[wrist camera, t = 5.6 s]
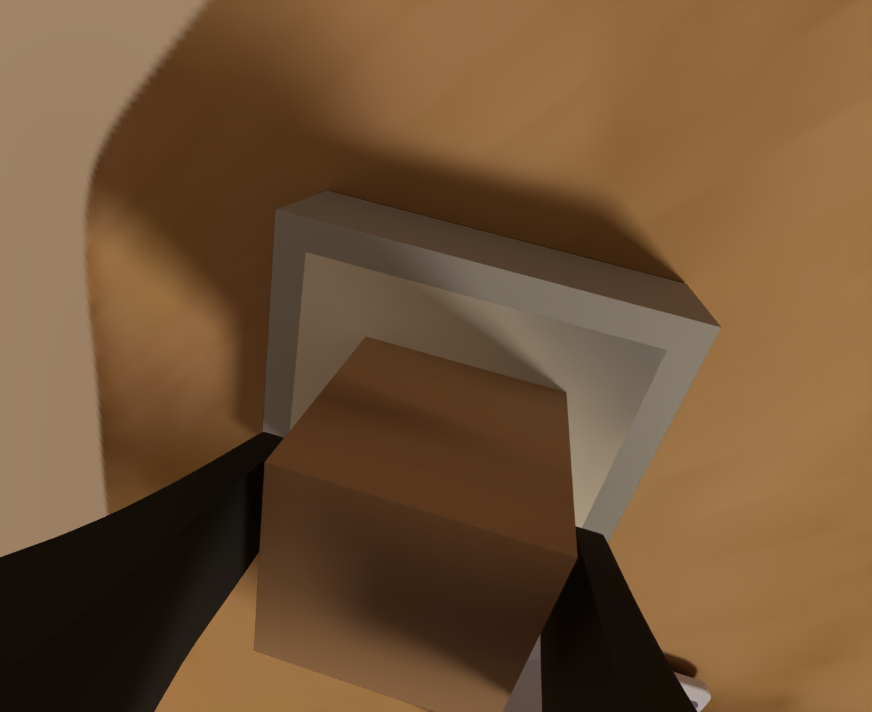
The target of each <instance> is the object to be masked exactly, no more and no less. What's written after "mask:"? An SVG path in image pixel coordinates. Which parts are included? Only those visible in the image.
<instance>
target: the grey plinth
mask: <svg viewBox="0 0 872 712" xmlns="http://www.w3.org/2000/svg"><path fill="white" fill-rule="evenodd" d="M720 329H721V326H720V325H719V324H718V323H717V321H716V320H715V319H714V318H713V316H712V315H711V314H710V313H709V311H708V310H707V309H706V308H705V306H704V305H703V304H702V303H701V301H700V300H699V299H698V298H697V296H696V295H695V294H694V293H693V291H692V290H691V289H690V288H689V286H688V285H687V284H685V283H681V282H677V281H673V280H670V279H666V278H662V277H658V276H654V275H650V274H647V273H643V272H639V271H635V270H631V269H627V268H623V267H620V266H616V265H612V264H608V263H604V262H600V261H596V260H593V259H589V258H585V257H581V256H577V255H573V254H570V253H566V252H562V251H558V250H554V249H550V248H546V247H543V246H539V245H535V244H531V243H527V242H523V241H520V240H516V239H512V238H508V237H504V236H500V235H496V234H493V233H489V232H485V231H481V230H477V229H473V228H469V227H466V226H462V225H458V224H454V223H450V222H446V221H443V220H439V219H435V218H431V217H427V216H423V215H419V214H416V213H412V212H408V211H404V210H400V209H396V208H393V207H389V206H385V205H381V204H377V203H373V202H369V201H366V200H362V199H358V198H354V197H350V196H346V195H342V194H339V193H335V192H331V191H327V190H326V191H324V192H321V193H318V194H315V195H313V196H310V197H307V198H304V199H302V200H299V201H296V202H293V203H291V204H288V205H285V206H282V207H280V208H277V209H275V225H274V242H273V260H272V277H271V295H270V312H269V329H268V347H267V364H266V382H265V399H264V417H263V432H267V433H270V434H274V435H277V436H280V437H285V436H286V435H287V434H288V433H289V431H290V430H291V429H292V428H293V426H294V425H295V424H296V423H297V421H298V420H299V419H300V418H301V416H302V415H303V414H304V413H305V411H306V410H307V409H308V408H309V406H310V405H311V404H312V403H313V401H314V400H315V399H316V398H317V396H318V395H319V394H320V393H321V391H322V390H323V389H324V388H325V386H326V385H327V384H328V383H329V381H330V380H331V379H332V378H333V377H334V375H335V374H336V373H337V372H338V370H339V369H340V368H341V367H342V365H343V364H344V363H345V362H346V360H347V359H348V358H349V357H350V355H351V354H352V353H353V352H354V350H355V349H356V348H357V347H358V345H359V344H360V343H361V342H362V340H363V339H364V338H365V337H370V338H373V339H377V340H380V341H384V342H387V343H391V344H395V345H398V346H402V347H405V348H409V349H412V350H416V351H420V352H423V353H427V354H430V355H434V356H438V357H441V358H445V359H448V360H452V361H455V362H459V363H463V364H466V365H470V366H473V367H477V368H481V369H484V370H488V371H491V372H495V373H498V374H502V375H506V376H509V377H513V378H516V379H520V380H524V381H527V382H531V383H534V384H538V385H541V386H545V387H549V388H552V389H556V390H559V391H563V392H567V407H568V422H569V437H570V452H571V467H572V482H573V497H574V512H575V526H577V527H580V528H583V529H587V530H590V531H593V532H597V533H600V534H603V535H604V537H605V539H606V541H607V543H608V542H609V540H610V538H611V536H612V534H613V532H614V530H615V528H616V527H617V525H618V523H619V521H620V519H621V517H622V515H623V513H624V511H625V509H626V508H627V506H628V504H629V502H630V500H631V498H632V496H633V494H634V492H635V490H636V488H637V487H638V485H639V483H640V481H641V479H642V477H643V475H644V473H645V471H646V469H647V468H648V466H649V464H650V462H651V460H652V458H653V456H654V454H655V452H656V450H657V449H658V447H659V445H660V443H661V441H662V439H663V437H664V435H665V433H666V431H667V430H668V428H669V426H670V424H671V422H672V420H673V418H674V416H675V414H676V412H677V410H678V409H679V407H680V405H681V403H682V401H683V399H684V397H685V395H686V393H687V391H688V390H689V388H690V386H691V384H692V382H693V380H694V378H695V376H696V374H697V372H698V371H699V369H700V367H701V365H702V363H703V361H704V359H705V357H706V355H707V353H708V352H709V350H710V348H711V346H712V344H713V342H714V340H715V338H716V336H717V334H718V332H719V331H720Z"/></svg>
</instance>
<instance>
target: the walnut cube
mask: <svg viewBox="0 0 872 712" xmlns="http://www.w3.org/2000/svg"><path fill="white" fill-rule="evenodd" d="M577 558H578V557H577V542H576V527H575V512H574V497H573V482H572V467H571V452H570V437H569V422H568V407H567V392H563V391H559V390H556V389H552V388H549V387H545V386H541V385H538V384H534V383H531V382H527V381H524V380H520V379H516V378H513V377H509V376H506V375H502V374H498V373H495V372H491V371H488V370H484V369H481V368H477V367H473V366H470V365H466V364H463V363H459V362H455V361H452V360H448V359H445V358H441V357H438V356H434V355H430V354H427V353H423V352H420V351H416V350H412V349H409V348H405V347H402V346H398V345H395V344H391V343H387V342H384V341H380V340H377V339H373V338H370V337H365V338H364V339H363V340H362V342H361V343H360V344H359V345H358V347H357V348H356V349H355V350H354V352H353V353H352V354H351V355H350V357H349V358H348V359H347V360H346V362H345V363H344V364H343V365H342V367H341V368H340V369H339V370H338V372H337V373H336V374H335V375H334V377H333V378H332V379H331V380H330V381H329V383H328V384H327V385H326V386H325V388H324V389H323V390H322V391H321V393H320V394H319V395H318V396H317V398H316V399H315V400H314V401H313V403H312V404H311V405H310V406H309V408H308V409H307V410H306V411H305V413H304V414H303V415H302V416H301V418H300V419H299V420H298V421H297V423H296V424H295V425H294V426H293V428H292V429H291V430H290V431H289V433H288V434H287V435H286V436H285V437H284V439H283V440H282V441H281V442H280V444H279V445H278V446H277V447H276V449H275V450H274V451H273V452H272V454H271V455H270V456H269V457H268V459H267V460H266V461H265V464H264V482H263V499H262V517H261V534H260V551H259V569H258V586H257V604H256V621H255V639H254V651H256V652H259V653H262V654H265V655H268V656H271V657H274V658H277V659H280V660H283V661H286V662H289V663H292V664H295V665H297V666H300V667H303V668H306V669H309V670H312V671H315V672H318V673H321V674H324V675H327V676H330V677H333V678H336V679H339V680H342V681H345V682H348V683H351V684H353V685H356V686H359V687H362V688H365V689H368V690H371V691H374V692H377V693H380V694H383V695H386V696H389V697H392V698H395V699H398V700H401V701H404V702H407V703H409V704H412V705H415V706H418V707H421V708H424V709H427V710H430V711H433V712H502V711H503V709H504V707H505V705H506V703H507V701H508V699H509V697H510V695H511V693H512V691H513V689H514V687H515V685H516V683H517V681H518V679H519V677H520V675H521V673H522V670H523V668H524V666H525V664H526V662H527V660H528V658H529V656H530V654H531V652H532V650H533V648H534V646H535V644H536V642H537V640H538V638H539V636H540V634H541V632H542V630H543V628H544V626H545V623H546V621H547V619H548V617H549V615H550V613H551V611H552V609H553V607H554V605H555V603H556V601H557V599H558V597H559V595H560V593H561V591H562V589H563V587H564V585H565V583H566V581H567V578H568V576H569V574H570V572H571V570H572V568H573V566H574V564H575V562H576V560H577Z"/></svg>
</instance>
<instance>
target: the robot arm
mask: <svg viewBox="0 0 872 712" xmlns="http://www.w3.org/2000/svg"><path fill="white" fill-rule="evenodd" d="M283 439H284V437H280V436H277V435H274V434H270V433H267V432H262V433H260V434H258V435H257V436H255V437H253V438H251V439H250V440H248V441H246V442H244V443H243V444H241V445H239V446H238V447H236V448H234V449H232V450H231V451H229V452H227V453H226V454H224V455H222V456H220V457H219V458H217V459H215V460H214V461H212V462H210V463H208V464H207V465H205V466H203V467H201V468H200V469H198V470H196V471H194V472H192V473H190V474H189V475H187V476H185V477H183V478H181V479H180V480H178V481H176V482H174V483H172V484H171V485H169V486H167V487H165V488H163V489H161V490H159V491H157V492H155V493H153V494H151V495H149V496H147V497H145V498H143V499H141V500H139V501H137V502H135V503H133V504H131V505H129V506H127V507H125V508H123V509H121V510H119V511H116V512H114V513H112V514H110V515H108V516H106V517H104V518H101V519H99V520H97V521H94V522H92V523H89V524H87V525H85V526H82V527H80V528H78V529H75V530H73V531H71V532H68V533H66V534H63V535H60V536H58V537H55V538H53V539H50V540H47V541H44V542H42V543H39V544H36V545H33V546H30V547H28V548H25V549H22V550H19V551H17V552H14V553H11V554H8V555H5V556H3V557H0V712H154V711H155V709H156V707H157V706H158V704H159V702H160V701H161V699H162V697H163V695H164V694H165V692H166V690H167V689H168V687H169V685H170V683H171V682H172V680H173V678H174V676H175V675H176V673H177V671H178V670H179V668H180V666H181V664H182V663H183V661H184V660H185V658H186V657H187V655H188V654H189V652H190V650H191V649H192V647H193V646H194V644H195V643H196V641H197V640H198V638H199V637H200V636H201V634H202V633H203V631H204V630H205V628H206V627H207V626H208V624H209V623H210V621H211V620H212V618H213V617H214V616H215V614H216V613H217V611H218V610H219V609H220V607H221V606H222V604H223V603H224V601H225V600H226V599H227V597H228V596H229V594H230V593H231V591H232V590H233V589H234V587H235V586H236V584H237V583H238V582H239V580H240V579H241V577H242V576H243V574H244V573H245V571H246V570H247V569H248V567H249V566H250V564H251V563H252V561H253V560H254V558H255V557H256V556H257V554H258V553H259V551H260V534H261V517H262V499H263V482H264V464H265V461H266V460H267V459H268V457H269V456H270V455H271V454H272V452H273V451H274V450H275V449H276V447H277V446H278V445H279V444H280V442H281V441H282V440H283ZM575 527H576V542H577V557H578V558H577V560H576V562H575V564H574V566H573V568H572V570H571V572H570V574H569V576H568V578H567V581H566V583H565V585H564V587H563V589H562V591H561V593H560V595H559V597H558V599H557V601H556V603H555V605H554V607H553V609H552V611H551V613H550V615H549V617H548V619H547V621H546V623H545V626H544V628H543V630H542V632H541V634H540V636H539V638H538V640H537V642H536V644H535V646H534V648H533V650H532V652H531V654H530V656H529V658H528V660H527V662H526V664H525V666H524V668H523V670H522V673H521V675H520V677H519V679H518V681H517V683H516V685H515V687H514V689H513V691H512V693H511V695H510V697H509V699H508V701H507V703H506V705H505V707H504V709H503V711H502V712H700V711H701V710H702V709H703V708H704V707H705V705H706V704H707V703H708V702H709V701H710V698H711V696H710V692H709V689H708V686H707V685H706V684H705V683H704V682H702V681H700V680H698V679H694V678H691V677H688V676H685V675H682V674H679V673H676V672H673V670H672V668H671V667H670V665H669V663H668V661H667V659H666V658H665V656H664V654H663V652H662V650H661V649H660V647H659V645H658V643H657V641H656V639H655V637H654V636H653V634H652V632H651V630H650V628H649V626H648V624H647V622H646V620H645V619H644V617H643V615H642V613H641V611H640V609H639V607H638V605H637V603H636V601H635V599H634V597H633V595H632V593H631V591H630V589H629V587H628V585H627V583H626V581H625V579H624V576H623V574H622V572H621V570H620V568H619V566H618V564H617V562H616V560H615V557H614V555H613V553H612V551H611V549H610V547H609V545H608V543H607V541H606V539H605V537H604V535H603V534H600V533H597V532H593V531H590V530H587V529H583V528H580V527H577V526H575Z"/></svg>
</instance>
